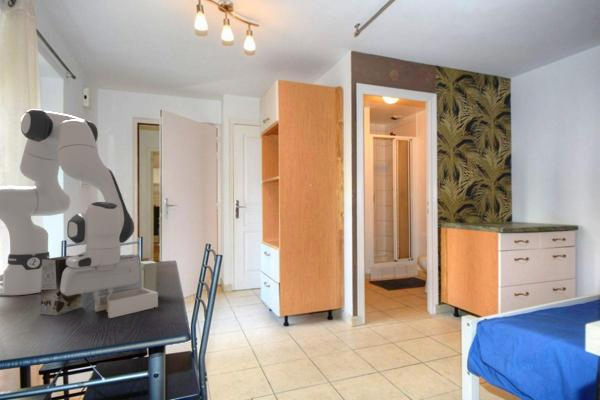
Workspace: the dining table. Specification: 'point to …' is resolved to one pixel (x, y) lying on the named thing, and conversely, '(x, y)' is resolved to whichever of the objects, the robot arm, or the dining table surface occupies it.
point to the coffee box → (56, 289)
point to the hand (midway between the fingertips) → (102, 304)
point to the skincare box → (149, 275)
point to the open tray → (129, 301)
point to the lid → (127, 285)
